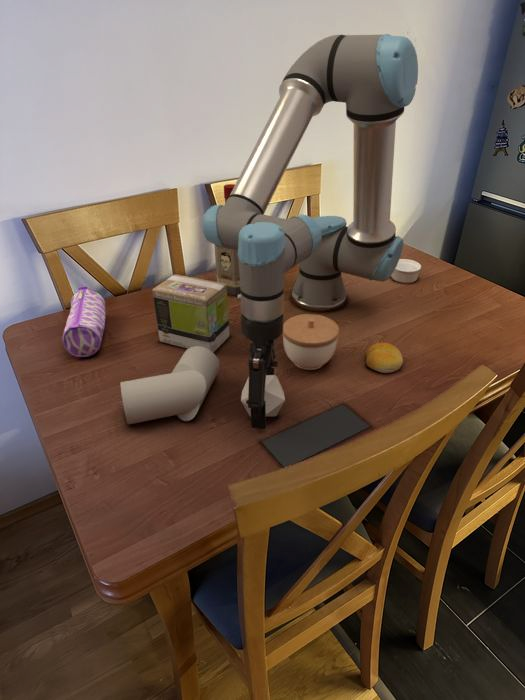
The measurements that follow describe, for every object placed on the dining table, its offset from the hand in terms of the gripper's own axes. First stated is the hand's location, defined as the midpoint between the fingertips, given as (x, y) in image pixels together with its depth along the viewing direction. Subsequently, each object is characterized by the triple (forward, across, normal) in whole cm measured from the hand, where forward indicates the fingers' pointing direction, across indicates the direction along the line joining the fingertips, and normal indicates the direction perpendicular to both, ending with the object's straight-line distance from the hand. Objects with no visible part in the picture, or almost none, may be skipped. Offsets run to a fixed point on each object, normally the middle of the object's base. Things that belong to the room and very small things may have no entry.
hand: (263, 409), depth 99 cm
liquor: (+1, -54, -18) cm, 57 cm away
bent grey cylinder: (+1, 0, -20) cm, 20 cm away
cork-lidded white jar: (+1, -20, +7) cm, 21 cm away
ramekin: (+1, -69, +32) cm, 76 cm away
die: (+1, 0, 0) cm, 1 cm away
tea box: (+1, -25, -22) cm, 33 cm away
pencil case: (+1, -22, -48) cm, 53 cm away
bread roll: (+1, -22, +24) cm, 33 cm away
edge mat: (+1, +4, +11) cm, 12 cm away
